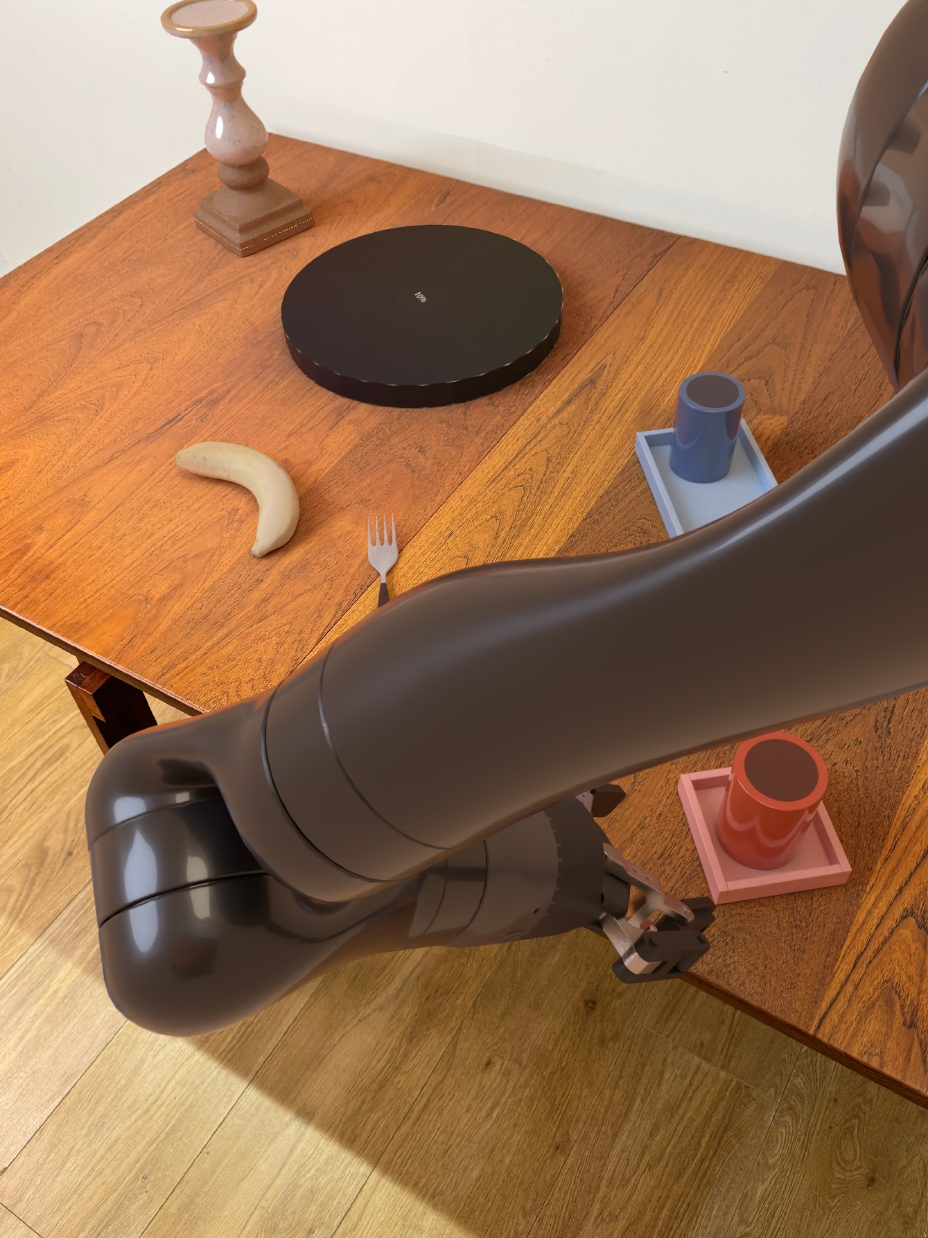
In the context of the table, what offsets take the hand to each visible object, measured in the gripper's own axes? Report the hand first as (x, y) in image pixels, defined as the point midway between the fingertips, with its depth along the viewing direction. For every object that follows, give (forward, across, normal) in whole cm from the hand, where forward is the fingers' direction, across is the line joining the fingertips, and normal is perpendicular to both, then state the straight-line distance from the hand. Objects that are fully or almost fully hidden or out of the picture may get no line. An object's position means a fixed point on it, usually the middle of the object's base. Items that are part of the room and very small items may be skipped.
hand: (656, 854), depth 59 cm
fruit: (0, +50, +11) cm, 51 cm away
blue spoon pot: (+26, +31, -17) cm, 43 cm away
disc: (+19, +66, -9) cm, 69 cm away
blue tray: (+24, +25, -14) cm, 38 cm away
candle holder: (+14, +96, -4) cm, 97 cm away
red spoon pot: (+11, 0, -2) cm, 11 cm away
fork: (+4, +33, +6) cm, 34 cm away
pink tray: (+11, 0, -2) cm, 12 cm away
